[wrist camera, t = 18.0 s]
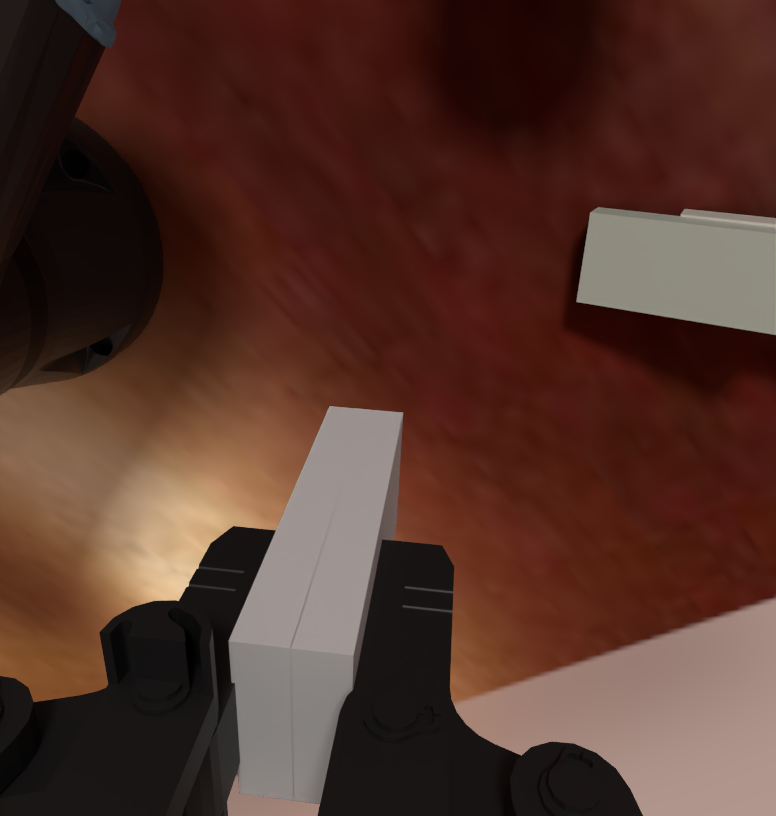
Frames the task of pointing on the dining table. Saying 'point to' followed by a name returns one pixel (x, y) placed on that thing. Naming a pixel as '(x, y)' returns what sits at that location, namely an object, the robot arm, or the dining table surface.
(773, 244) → the end tile
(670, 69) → the dining table surface
